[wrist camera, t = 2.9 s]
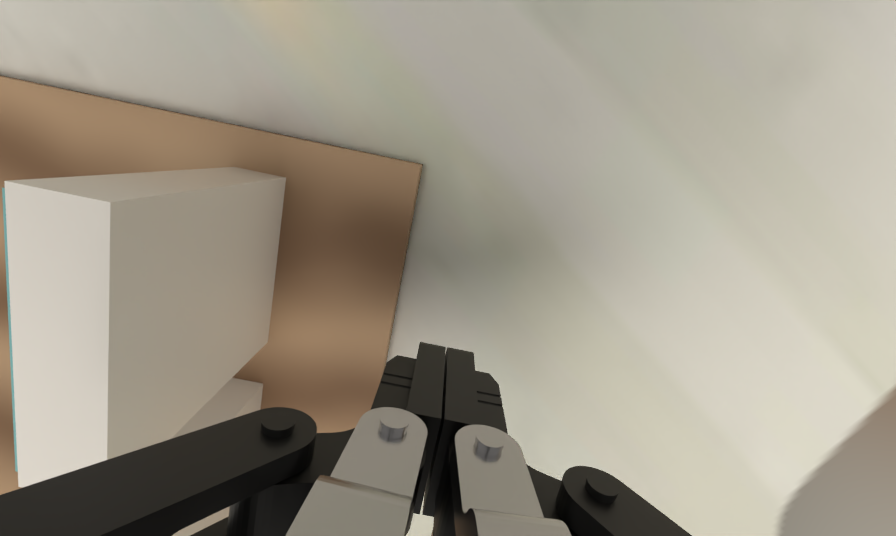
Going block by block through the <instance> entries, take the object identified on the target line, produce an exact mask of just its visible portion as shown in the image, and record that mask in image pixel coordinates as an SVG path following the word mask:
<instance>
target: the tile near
mask: <svg viewBox="0 0 896 536" xmlns="http://www.w3.org/2000/svg"><path fill="white" fill-rule="evenodd" d="M4 182H5V188H2V197H3V219H4V240H5V261H6V282H7V303H8V324H9V345H10V366H11V388H12V409H13V430H14V451H15V471H16V472H18V487H26V486H29V485H32V484H35V483H38V482H41V481H44V480H47V479H50V478H53V477H56V476H60V475H63V474H66V473H69V472H72V471H75V470H78V469H81V468H84V467H87V466H90V465H93V464H96V463H99V462H102V461H105V460H108V459H111V458H114V457H117V456H120V455H123V454H127V453H130V452H133V451H136V450H139V449H142V448H145V447H148V446H151V445H154V444H157V443H160V442H163V441H166V440H169V439H171V438H172V437H173V436H174V435H175V434H176V433H177V432H178V431H179V430H180V429H181V428H182V427H183V426H184V425H185V424H186V423H187V422H188V421H189V420H190V419H191V418H192V417H193V416H194V415H195V414H196V413H197V412H198V411H199V410H200V409H201V408H202V407H203V406H204V405H205V404H206V403H207V402H208V401H209V400H210V399H211V398H212V397H213V396H214V395H215V394H216V393H217V392H218V391H219V390H220V389H221V388H222V387H223V386H224V385H225V384H226V383H227V382H228V381H229V380H230V379H231V378H232V377H233V376H234V375H235V374H236V373H237V372H238V371H239V370H240V369H241V368H242V367H243V366H244V365H245V364H246V363H247V362H248V361H249V360H250V359H251V358H252V357H253V356H254V355H255V354H256V353H257V352H258V351H259V350H260V349H261V348H262V347H263V346H264V345H265V344H266V343H267V342H268V336H269V327H270V318H271V309H272V300H273V291H274V282H275V273H276V264H277V255H278V246H279V237H280V228H281V219H282V210H283V201H284V192H285V183H286V177H281V176H276V175H272V174H267V173H262V172H257V171H252V170H247V169H243V168H238V167H223V168H207V169H190V170H174V171H158V172H141V173H125V174H108V175H92V176H75V177H59V178H42V179H26V180H9V181H4Z"/></svg>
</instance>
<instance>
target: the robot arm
mask: <svg viewBox="0 0 896 536" xmlns="http://www.w3.org/2000/svg"><path fill="white" fill-rule="evenodd" d="M445 349H446V347H443V346H438V345H433V344H428V343H423V342H420V344H419V349H418V354H417V359H413V358H408V357H403V356H398V355H397V356H396V357H394V358H393V359H391V360H390V361H388V362H387V363H386V366H385V369H384V372H383V375H382V378H381V381H380V384H379V387H378V390H377V392H376V395H375V398H374V401H373V404H372V407H371V410H370V411H368V412H366V413H365V414H363V415H362V417H361V418H360V420H359V422H358V423H357V425H356V427H355V428H353V429H350V430H347V431H342V432H333V433H317V426H316V423H315V421H314V420H313V419H312V418H311V417H310V416H309V415H308V414H306V413H304V412H302V411H300V410H297V409H293V408H286V407H271V408H265V409H261V410H257V411H254V412H251V413H248V414H245V415H242V416H239V417H236V418H233V419H230V420H227V421H224V422H221V423H218V424H215V425H212V426H209V427H206V428H203V429H200V430H197V431H194V432H190V433H187V434H184V435H181V436H178V437H175V438H172V439H169V440H166V441H163V442H160V443H157V444H154V445H151V446H148V447H145V448H142V449H139V450H136V451H133V452H130V453H127V454H123V455H120V456H117V457H114V458H111V459H108V460H105V461H102V462H99V463H96V464H93V465H90V466H87V467H84V468H81V469H78V470H75V471H72V472H69V473H66V474H63V475H60V476H56V477H53V478H50V479H47V480H44V481H41V482H38V483H35V484H32V485H29V486H26V487H23V488H20V489H17V490H14V491H11V492H8V493H5V494H2V495H0V536H172V535H173V534H175V533H176V532H178V531H180V530H181V529H183V528H185V527H187V526H189V525H192V524H194V523H196V522H198V521H200V520H202V519H204V518H206V517H208V516H210V515H212V514H214V513H217V512H219V511H221V510H223V509H225V508H227V507H229V506H230V508H229V516H228V517H226V518H224V519H222V520H220V521H218V522H216V523H214V524H212V525H210V526H208V527H206V528H204V529H202V530H200V531H198V532H196V533H194V534H192V535H190V536H406V534H407V533H408V531H409V529H410V525H411V521H412V516H413V513H416V514H420V510H421V505H422V501H423V496H424V505H423V515H427V516H433V517H434V527H433V531H432V535H431V536H692V535H690V534H689V533H688V532H686V531H685V530H684V529H682V528H681V527H680V526H678V525H677V524H676V523H675V522H673V521H672V520H671V519H669V518H668V517H667V516H665V515H664V514H663V513H661V512H660V511H659V510H657V509H656V508H655V507H654V506H652V505H651V504H650V503H648V502H647V501H646V500H644V499H643V498H642V497H640V496H639V495H638V494H636V493H635V492H634V491H633V490H631V489H630V488H629V487H627V486H626V485H625V484H623V483H622V482H621V481H619V480H618V479H616V478H615V477H613V476H612V475H610V474H608V473H606V472H604V471H601V470H599V469H596V468H592V467H586V466H575V467H572V468H569V469H568V470H567V471H566V472H565V473H564V475H563V478H562V481H560V480H558V479H555V478H553V477H550V476H548V475H546V474H543V473H541V472H539V471H537V470H535V469H533V468H531V467H530V466H528V465H527V464H526V462H525V459H524V456H523V452H522V450H521V448H520V446H519V444H518V443H517V442H516V441H515V440H514V439H513V438H512V437H511V436H510V435H508V433H507V428H506V422H505V417H504V412H503V407H502V401H501V398H500V396H501V395H500V390H499V385H498V383H497V382H496V381H495V380H494V379H493V377H492V376H491V375H490V374H489V373H484V372H479V371H475V365H474V354H473V352H468V351H463V350H458V349H453V348H447V350H446V354H445ZM424 492H425V495H424Z"/></svg>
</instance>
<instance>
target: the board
mask: <svg viewBox="0 0 896 536" xmlns="http://www.w3.org/2000/svg"><path fill="white" fill-rule="evenodd" d="M422 166H423V164H418V163H414V162H409V161H404V160H399V159H395V158H390V157H385V156H380V155H376V154H371V153H366V152H361V151H357V150H352V149H347V148H342V147H338V146H333V145H328V144H323V143H319V142H314V141H309V140H304V139H300V138H295V137H290V136H285V135H281V134H276V133H271V132H266V131H262V130H257V129H252V128H247V127H243V126H238V125H233V124H228V123H224V122H219V121H214V120H209V119H205V118H200V117H195V116H190V115H186V114H181V113H176V112H171V111H167V110H162V109H157V108H152V107H148V106H143V105H138V104H133V103H129V102H124V101H119V100H114V99H110V98H105V97H100V96H95V95H91V94H86V93H81V92H76V91H72V90H67V89H62V88H57V87H53V86H48V85H43V84H38V83H34V82H29V81H24V80H19V79H15V78H10V77H5V76H0V495H2V494H5V493H8V492H11V491H14V490H17V489H20V488H23V487H18V472H16V471H15V451H14V430H13V409H12V388H11V366H10V345H9V324H8V303H7V282H6V261H5V240H4V219H3V197H2V188H5V182H4V181H9V180H26V179H42V178H59V177H75V176H92V175H108V174H125V173H141V172H158V171H174V170H190V169H207V168H223V167H238V168H243V169H247V170H252V171H257V172H262V173H267V174H272V175H276V176H281V177H286V183H285V192H284V201H283V210H282V219H281V228H280V237H279V246H278V255H277V264H276V273H275V282H274V291H273V300H272V309H271V318H270V327H269V336H268V342H267V343H266V344H265V345H264V346H263V347H262V348H261V349H260V350H259V351H258V352H257V353H256V354H255V355H254V356H253V357H252V358H251V359H250V360H249V361H248V362H247V363H246V364H245V365H244V366H243V367H242V368H241V369H240V370H239V371H238V372H237V373H236V374H235V375H234V376H233V377H232V378H236V379H242V380H247V381H252V382H257V383H262V384H263V390H262V399H261V408H260V410H261V409H265V408H271V407H286V408H293V409H297V410H300V411H302V412H304V413H306V414H308V415H309V416H310V417H311V418H312V419H313V420H314V421H315V423H316V426H317V433H333V432H342V431H347V430H350V429H353V428H355V427H356V425H357V423H358V422H359V420H360V418H361V417H362V415H363V414H365V413H366V412H368V411H370V410H371V407H372V404H373V401H374V398H375V395H376V392H377V390H378V387H379V384H380V381H381V378H382V375H383V372H384V369H385V366H386V360H387V355H388V349H389V344H390V339H391V333H392V328H393V323H394V317H395V312H396V306H397V301H398V296H399V290H400V285H401V279H402V274H403V269H404V263H405V258H406V253H407V247H408V242H409V236H410V231H411V226H412V220H413V215H414V210H415V204H416V199H417V193H418V188H419V183H420V177H421V172H422Z"/></svg>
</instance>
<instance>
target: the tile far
mask: <svg viewBox="0 0 896 536" xmlns="http://www.w3.org/2000/svg"><path fill="white" fill-rule="evenodd" d="M262 390H263V384H262V383H257V382H252V381H247V380H242V379H236V378H231V379H230V380H229V381H228V382H227V383H226V384H225V385H224V386H223V387H222V388H221V389H220V390H219V391H218V392H217V393H216V394H215V395H214V396H213V397H212V398H211V399H210V400H209V401H208V402H207V403H206V404H205V405H204V406H203V407H202V408H201V409H200V410H199V411H198V412H197V413H196V414H195V415H194V416H193V417H192V418H191V419H190V420H189V421H188V422H187V423H186V424H185V425H184V426H183V427H182V428H181V429H180V430H179V431H178V432H177V433H176V434H175V435H174V436H173V437H172V438H175V437H178V436H181V435H184V434H187V433H190V432H194V431H197V430H200V429H203V428H206V427H209V426H212V425H215V424H218V423H221V422H224V421H227V420H230V419H233V418H236V417H239V416H242V415H245V414H248V413H251V412H254V411H257V410H260V408H261V399H262ZM172 438H171V439H172ZM229 508H230V506H229V507H227V508H225V509H223V510H221V511H219V512H217V513H214V514H212V515H210V516H208V517H206V518H204V519H202V520H200V521H198V522H196V523H194V524H192V525H189V526H187V527H185V528H183V529H181V530H180V531H178V532H176V533H175V534H173V535H172V536H190V535H192V534H194V533H196V532H198V531H200V530H202V529H204V528H206V527H208V526H210V525H212V524H214V523H216V522H218V521H220V520H222V519H224V518H226V517H228V516H229Z"/></svg>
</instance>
